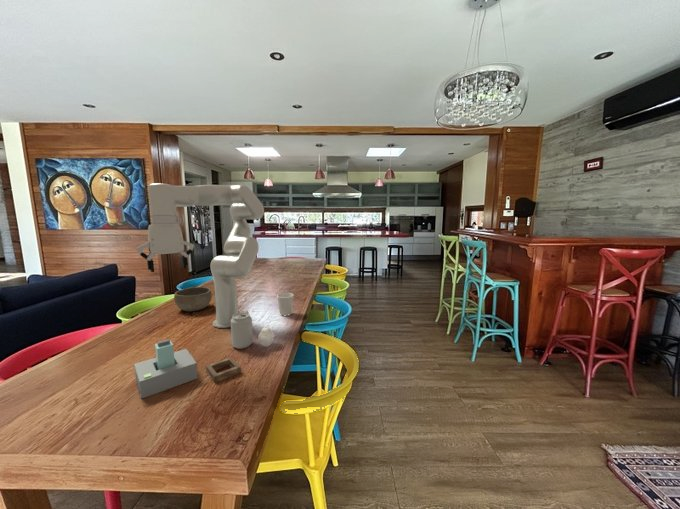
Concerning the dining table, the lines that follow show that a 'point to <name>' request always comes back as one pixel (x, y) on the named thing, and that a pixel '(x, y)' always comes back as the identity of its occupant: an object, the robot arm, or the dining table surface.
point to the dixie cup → (285, 303)
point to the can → (241, 330)
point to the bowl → (193, 298)
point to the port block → (165, 374)
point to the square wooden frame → (224, 374)
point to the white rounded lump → (266, 337)
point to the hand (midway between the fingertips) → (168, 269)
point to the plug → (164, 354)
